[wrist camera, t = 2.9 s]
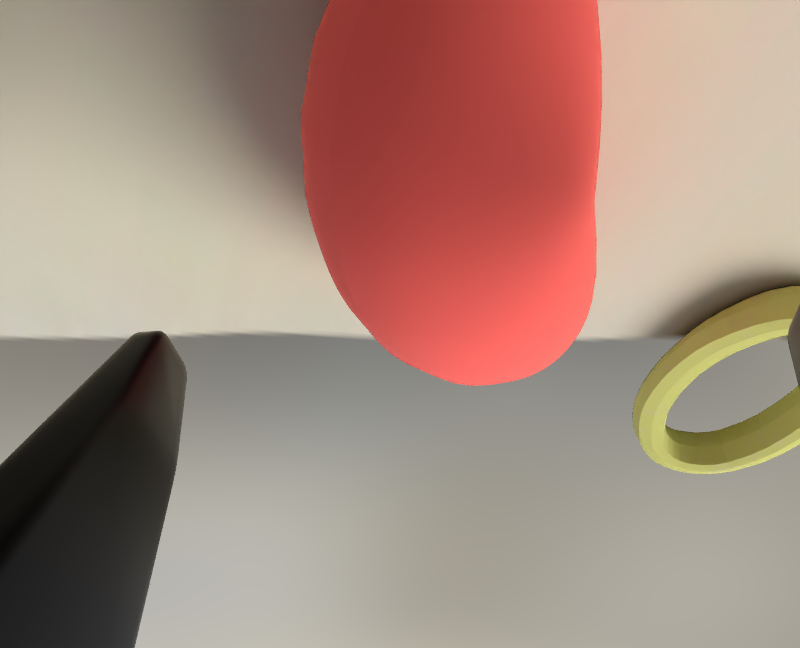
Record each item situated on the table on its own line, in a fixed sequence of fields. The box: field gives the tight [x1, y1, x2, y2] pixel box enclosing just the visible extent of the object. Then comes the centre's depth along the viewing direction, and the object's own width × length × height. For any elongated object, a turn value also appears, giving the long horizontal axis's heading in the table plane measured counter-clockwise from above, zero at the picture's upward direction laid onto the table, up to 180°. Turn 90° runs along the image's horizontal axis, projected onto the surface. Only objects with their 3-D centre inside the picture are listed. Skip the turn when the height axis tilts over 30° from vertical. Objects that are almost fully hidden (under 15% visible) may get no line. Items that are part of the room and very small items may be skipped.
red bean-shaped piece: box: [301, 0, 602, 386], centre depth 12 cm, size 5×9×6 cm, turn 0°
